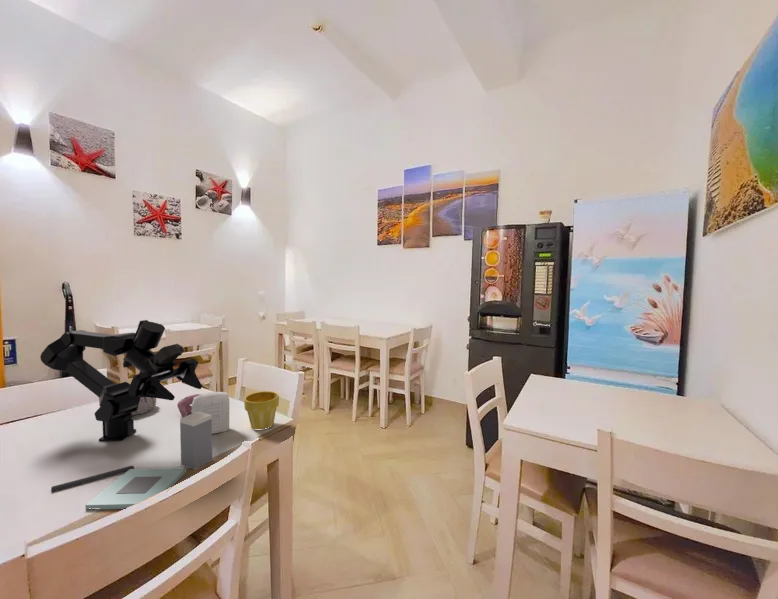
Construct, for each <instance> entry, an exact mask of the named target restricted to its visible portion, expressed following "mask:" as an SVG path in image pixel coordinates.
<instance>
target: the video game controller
mask: <svg viewBox="0 0 778 599" xmlns="http://www.w3.org/2000/svg"><path fill="white" fill-rule="evenodd" d="M202 394H203V393H201V394H199V393H198V394H197V393H196V394H190V395H189V396H188V395H187V396H186V397H184V398H182V399H180V400H179V401H178V402H177V409H178V411H179V413H180V415H181V416H182V418H183V417H186V416H188V414H190V413H192V402H193V398H194V397H197V396H199V395H202Z"/></svg>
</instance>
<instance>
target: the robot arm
mask: <svg viewBox="0 0 778 599" xmlns="http://www.w3.org/2000/svg"><path fill="white" fill-rule="evenodd" d="M165 330H166V328H165V326H164V325H163V324H161V323H157V322H154V321H149V320H148V319H145V320H143V319H142V320H140V321H139V322H138V325H137V329H136V331H135V332H124V333H117V334H115V333H114V334H111V333H110V334H109V333H108V334H107V333H102V332H95V331H94V332H93V331H88V330H87V331H86V330H83V329H80V330H79V329H78V330H72V331H66V332H64V333H63V334H62V335H61V336H60V337H59V338H58V339H56V340H54V341H53V342H51V343H50V344H48V345H47V346H46V347H45V348H44V349H43V351H42V352H41V354H40V355H39V356H40V361H41V363H43V365H45V366H46V367H48V368H49V369H52V370H54V371H59V372H61V371H62V372H66V373H67V374H69V375H70V376H71V377H72V378H74V379H75V380H77V381H78V383H79V384H81V385H82V386H84V387H85V388H86V389H87V390H89V391H90V392H91V393H93V394H94V395H95V396H96V397H98V404H99V407H98V409H97V410H96V411H95V412H94V417H95V420H96V421H98V422H102V436H101V437H100V438H98V441H99V442H107V441H109V442H110V441H113V442H117V441H118V442H119V441H121V442H122V441H124V440H125V439H126V438H128V437H130V435H132V434H133V433H135V432H136V431H137V428H135V426H134V425H135V423H134V422H135V421H134V418H133V415H132V412H136V411H137V409H138V405H139V402H140V397H141V398H142V397H150V398H156V399H159V400H167V401H174V400H175V395H174V394H173V393H172V392H171V391H170V390H168V389H167V388H166V387H165V386H164V385H163V384H161V382H165V381H169V380H171V379H174V378H176V379H177V380H179V381H181V383H182V384H185V385H187V386H189V387H191V388H194V389H198V390H201V389H202V387H203V385H202V383H201V381H200V380H199V378H198V376H197V373H196V369H197V367H198V365H199V361H197V359H196V358H189V359H186V360H183V361H182V360H181V361H180V363H179V365H178V367H177V368H174V367H175V366H176V364H177V361H176V360H177V359H178V357H179V356H182V354H183V353H184V352H185V349H184V347H183V346H182V345H181V344H179V343H174V344H171V345H166V346H163V347H161V348H160V349H159V350H158V351H157V352H156V353H155V352H154V351H152V349H156V348H157V347H158V346H159V344H160V341H161V339H162V337H163V336H164V333H165ZM86 348H92V349H93V348H94V349H98V350H99V349H100V350H102V351H103V353H105V354H107V355H110V356H112V357H116V356H121V355H125V357H123V363H122V366H123V368H130V367H132V366H133V367H134V368H136V369H137V370H138V371H139V373H137V374H134V375H133V376H132V379H131V382H130V383H129V382H127V381H122V382H120V383H119V382H118V383H115V382H114V381H112V380H111V379H110V378H108V377H107V376H106V375H104V374H103V373H102V372H100V371H99V370H98V369H96V368H95V367H94V366H93V365H92V364H90V363H88V361H86V360H85V359H84V352H85V350H86Z"/></svg>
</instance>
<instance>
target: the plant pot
mask: <svg viewBox="0 0 778 599" xmlns="http://www.w3.org/2000/svg"><path fill="white" fill-rule="evenodd" d="M279 400H280V399H279V393H277V392H275V391H269V390H268V391H267V390H265V391H257V392H253V393H250V394H248V395H246V396H245V397H244V400H243V401H244V410H245V411H246V412H247V415H248V420H249V423H250V427H251V429H252V428H253V429H252V430H254V429H265V428H268V427H270V426H272V425H273V426H274V423H275V419H276V418H275V417H276V413H277V412H276V411H277V408H278V407H279V403H280V402H279ZM273 426H272V427H273ZM270 428H271V427H270ZM268 429H269V428H268ZM265 430H266V429H265Z"/></svg>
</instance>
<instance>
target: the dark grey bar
mask: <svg viewBox="0 0 778 599" xmlns="http://www.w3.org/2000/svg"><path fill="white" fill-rule="evenodd" d="M129 469H135V466H134V465H129V466H124V467H122V468H121V467H120V468H117V469H114V470H109V471H106V472H103V473H102V472H101V473H98V474H94V475H91V476H87V477H83V478H80V479H77V480H76V479H75V480H72V481H68V482H64V483H61V484H60V483H59V484H57V485H53V486H51V489H50V490H51V491H50V492H51V493H54V492H58V491H61V489H62V490H65V489H69V488H72V486H73V487H76V486H80V485H83V483H84V484H86V483H87V484H88V483H90V482H94V481H98V480H101V479H104V478H106V479H107V478H109V477H112V476H113V477H114V476H117V475H121V474H125V473H126V472H127V471H128V470H129ZM57 490H58V491H57Z"/></svg>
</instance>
